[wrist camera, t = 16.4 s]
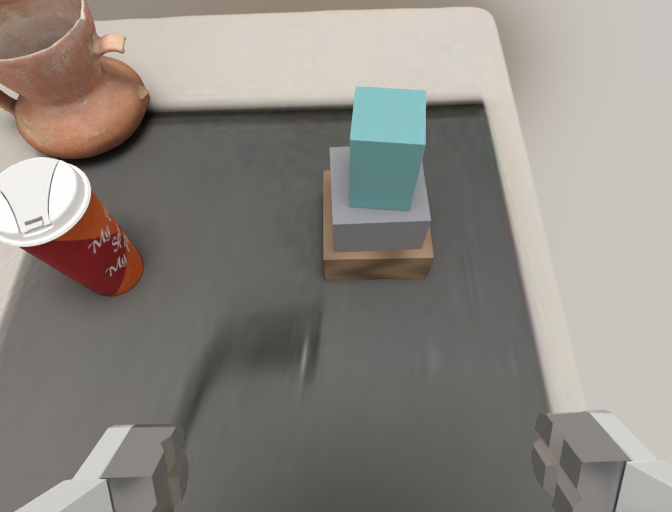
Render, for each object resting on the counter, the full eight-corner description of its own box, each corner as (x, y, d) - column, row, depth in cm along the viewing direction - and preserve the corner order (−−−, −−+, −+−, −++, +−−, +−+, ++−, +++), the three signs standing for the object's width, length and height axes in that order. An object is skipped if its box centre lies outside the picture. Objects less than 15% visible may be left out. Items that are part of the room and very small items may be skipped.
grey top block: (333, 252, 40) (332, 224, 36) (331, 180, 44) (329, 147, 40) (421, 248, 40) (431, 220, 36) (411, 177, 44) (419, 143, 40)
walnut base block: (325, 281, 45) (323, 259, 40) (325, 198, 49) (323, 170, 45) (424, 279, 44) (433, 257, 40) (415, 196, 49) (422, 168, 44)
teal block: (348, 206, 37) (349, 139, 30) (353, 159, 39) (355, 86, 32) (409, 211, 36) (425, 144, 29) (410, 163, 39) (425, 90, 31)
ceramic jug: (171, 77, 57) (120, -37, 45) (158, 166, 51) (92, 61, 38) (34, 87, 58) (-57, -24, 45) (2, 177, 51) (-115, 76, 38)
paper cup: (162, 288, 44) (90, 214, 32) (84, 318, 43) (-23, 253, 30) (144, 226, 47) (72, 137, 35) (71, 253, 46) (-30, 170, 34)
